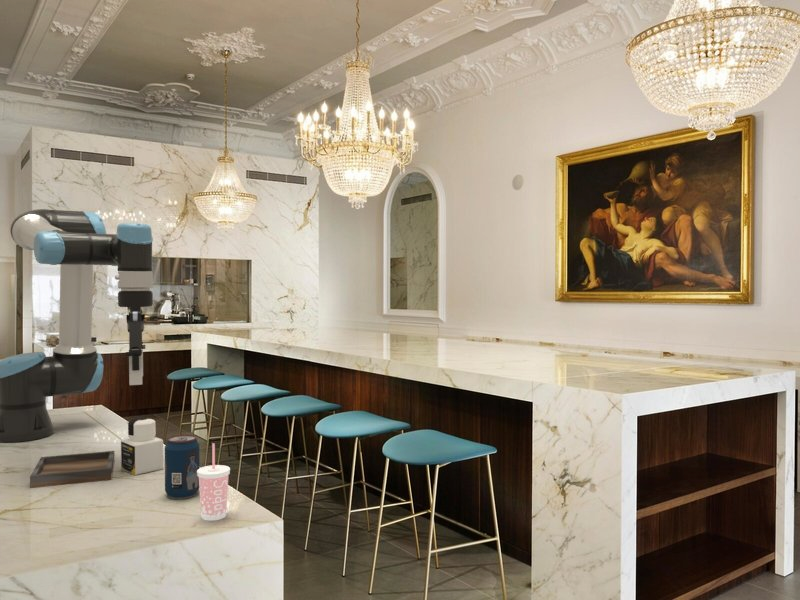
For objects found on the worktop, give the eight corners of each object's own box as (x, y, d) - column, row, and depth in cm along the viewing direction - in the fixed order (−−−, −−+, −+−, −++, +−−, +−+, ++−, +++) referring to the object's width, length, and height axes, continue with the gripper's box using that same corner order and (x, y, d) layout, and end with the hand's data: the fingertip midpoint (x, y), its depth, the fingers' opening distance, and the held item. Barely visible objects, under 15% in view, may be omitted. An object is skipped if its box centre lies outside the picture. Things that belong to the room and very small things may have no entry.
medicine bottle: (120, 469, 153) (120, 419, 153) (149, 463, 159) (149, 414, 158) (134, 475, 149) (133, 423, 148) (164, 469, 154) (163, 419, 153)
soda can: (172, 488, 140) (172, 433, 139) (204, 489, 139) (204, 433, 139) (159, 499, 133) (159, 441, 132) (193, 500, 132) (192, 442, 132)
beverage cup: (199, 524, 120) (198, 449, 119) (195, 512, 125) (194, 441, 125) (232, 519, 122) (232, 445, 122) (227, 508, 128) (227, 438, 127)
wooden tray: (41, 467, 155) (41, 456, 155) (114, 460, 161) (114, 450, 161) (30, 487, 140) (29, 476, 140) (111, 479, 146) (110, 468, 146)
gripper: (120, 289, 162) (121, 374, 162) (115, 290, 138) (116, 389, 139) (152, 289, 164) (153, 372, 165) (152, 290, 141) (153, 387, 142)
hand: (136, 380), depth 152 cm, fingers open, 13 cm apart
